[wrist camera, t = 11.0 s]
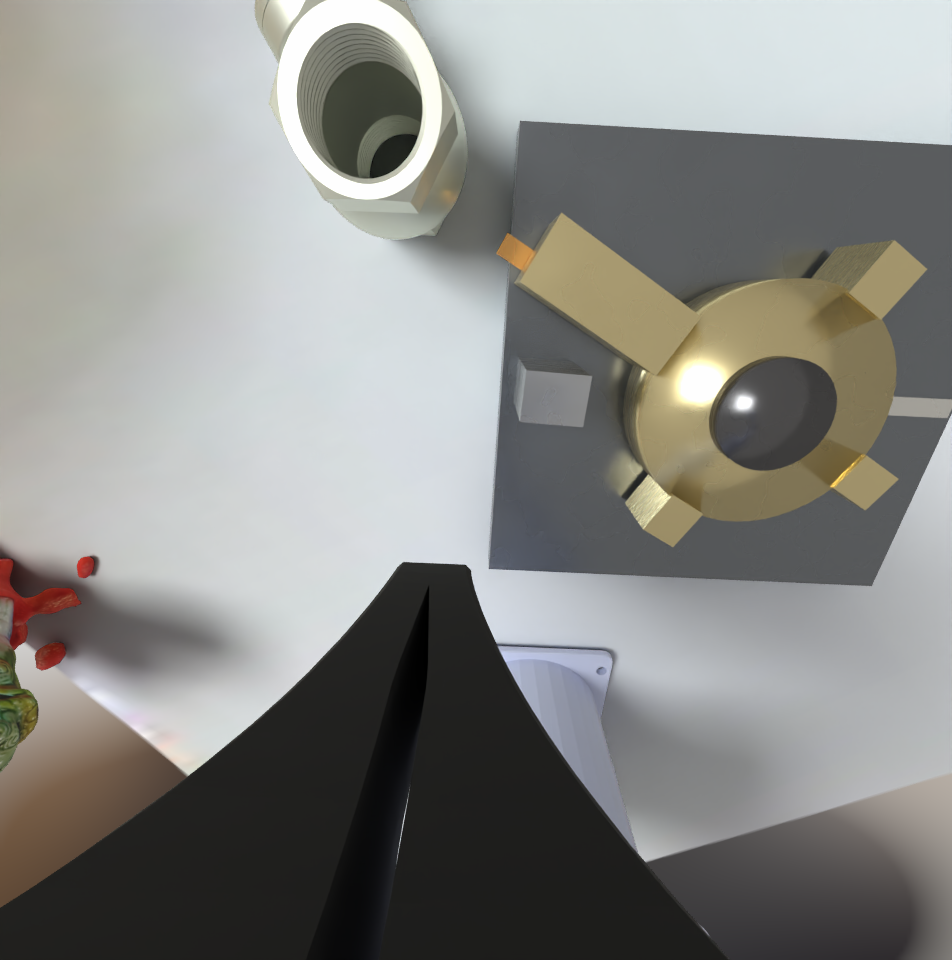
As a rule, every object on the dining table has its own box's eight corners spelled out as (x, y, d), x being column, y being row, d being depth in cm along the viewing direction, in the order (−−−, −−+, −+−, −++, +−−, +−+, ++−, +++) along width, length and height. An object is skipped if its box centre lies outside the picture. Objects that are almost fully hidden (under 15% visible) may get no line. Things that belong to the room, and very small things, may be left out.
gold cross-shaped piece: (957, 350, 16) (1042, 360, 13) (735, 570, 19) (772, 610, 17) (636, 77, 13) (672, 27, 11) (447, 394, 16) (441, 412, 14)
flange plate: (854, 572, 21) (934, 633, 17) (477, 555, 21) (477, 613, 17) (1035, 161, 15) (1222, 116, 11) (502, 130, 14) (510, 76, 11)
